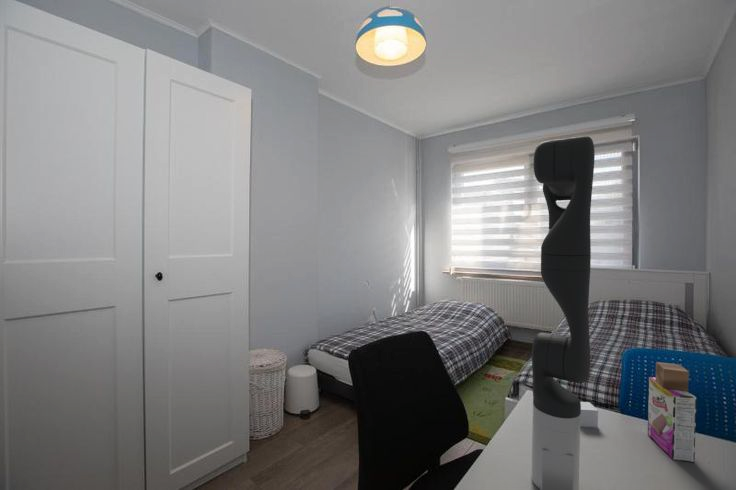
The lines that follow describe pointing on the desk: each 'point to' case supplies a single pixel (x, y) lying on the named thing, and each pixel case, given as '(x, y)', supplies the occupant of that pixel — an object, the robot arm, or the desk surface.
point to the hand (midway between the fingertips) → (560, 300)
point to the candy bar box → (672, 421)
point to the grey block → (588, 415)
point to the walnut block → (672, 376)
